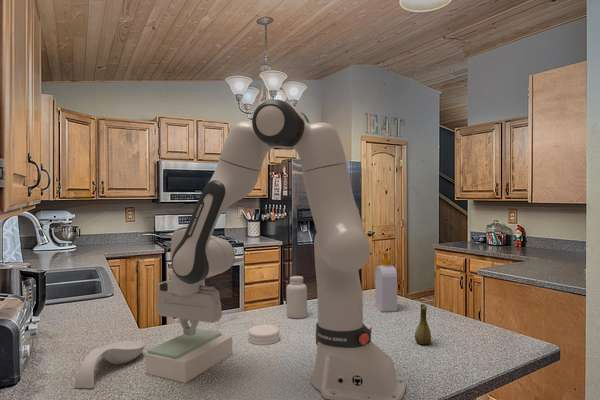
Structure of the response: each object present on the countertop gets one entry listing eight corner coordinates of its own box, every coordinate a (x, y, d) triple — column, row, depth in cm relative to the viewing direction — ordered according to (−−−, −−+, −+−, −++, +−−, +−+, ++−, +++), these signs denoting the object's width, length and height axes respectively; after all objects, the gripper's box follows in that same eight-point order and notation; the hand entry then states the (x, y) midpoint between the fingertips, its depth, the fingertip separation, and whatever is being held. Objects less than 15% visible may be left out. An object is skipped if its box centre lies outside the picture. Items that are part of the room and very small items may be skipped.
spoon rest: (113, 351, 117) (113, 327, 117) (152, 352, 117) (152, 328, 117) (61, 389, 94) (60, 359, 94) (108, 390, 93) (108, 360, 93)
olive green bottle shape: (426, 347, 118) (426, 307, 118) (411, 343, 121) (410, 305, 121) (434, 342, 122) (434, 304, 122) (419, 338, 125) (419, 301, 125)
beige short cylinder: (242, 342, 123) (242, 331, 123) (258, 333, 132) (258, 322, 132) (269, 347, 119) (269, 336, 119) (284, 337, 128) (284, 326, 128)
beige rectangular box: (232, 353, 114) (232, 336, 114) (185, 383, 96) (185, 362, 96) (196, 346, 120) (196, 330, 120) (146, 373, 101) (146, 354, 101)
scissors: (239, 315, 151) (225, 332, 131) (239, 317, 151) (225, 334, 131) (213, 314, 152) (195, 331, 132) (213, 316, 152) (195, 333, 132)
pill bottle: (294, 311, 156) (294, 274, 156) (311, 315, 152) (311, 276, 152) (282, 316, 150) (282, 277, 150) (299, 320, 145) (299, 280, 145)
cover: (221, 335, 115) (221, 332, 115) (175, 359, 98) (175, 356, 98) (195, 331, 119) (195, 328, 119) (147, 353, 102) (147, 350, 102)
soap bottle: (373, 306, 164) (373, 251, 164) (389, 305, 164) (389, 251, 164) (380, 312, 155) (380, 254, 155) (397, 311, 155) (397, 254, 155)
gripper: (225, 284, 107) (227, 335, 107) (169, 280, 116) (170, 326, 116) (211, 290, 101) (212, 343, 101) (152, 284, 110) (153, 333, 110)
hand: (189, 334), depth 109 cm, fingers closed
